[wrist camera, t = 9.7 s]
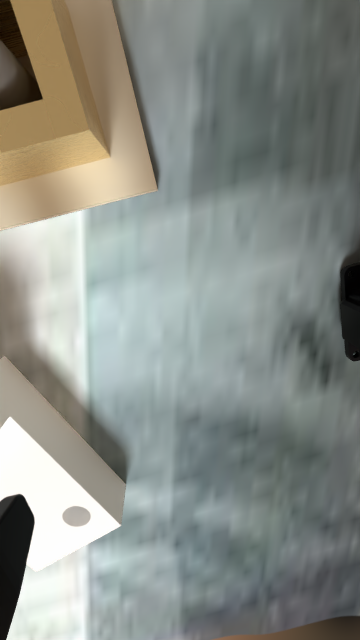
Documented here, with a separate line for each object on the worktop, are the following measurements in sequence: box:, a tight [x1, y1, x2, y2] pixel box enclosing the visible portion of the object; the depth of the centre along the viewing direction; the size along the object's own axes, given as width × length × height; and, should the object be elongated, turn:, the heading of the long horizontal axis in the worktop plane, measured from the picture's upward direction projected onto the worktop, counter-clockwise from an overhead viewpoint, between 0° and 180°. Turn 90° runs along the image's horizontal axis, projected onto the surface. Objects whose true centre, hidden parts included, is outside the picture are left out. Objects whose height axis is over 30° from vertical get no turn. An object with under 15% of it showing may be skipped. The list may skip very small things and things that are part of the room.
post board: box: [0, 0, 158, 231], centre depth 12 cm, size 10×10×6 cm
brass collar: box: [0, 0, 110, 186], centre depth 12 cm, size 6×6×5 cm
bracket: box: [0, 356, 126, 572], centre depth 18 cm, size 13×7×8 cm, turn 32°
